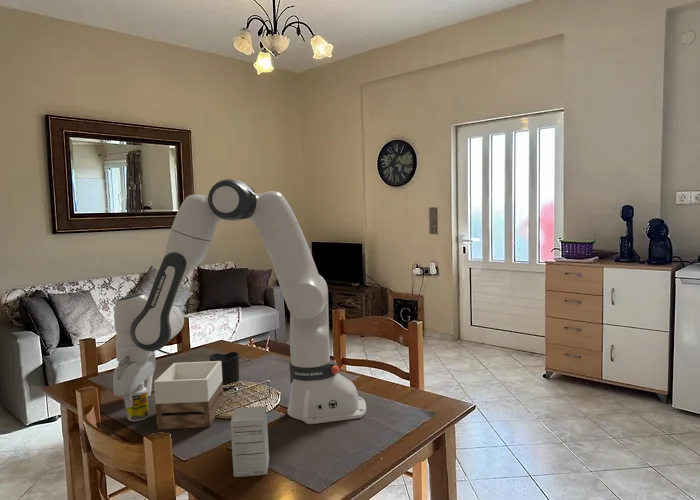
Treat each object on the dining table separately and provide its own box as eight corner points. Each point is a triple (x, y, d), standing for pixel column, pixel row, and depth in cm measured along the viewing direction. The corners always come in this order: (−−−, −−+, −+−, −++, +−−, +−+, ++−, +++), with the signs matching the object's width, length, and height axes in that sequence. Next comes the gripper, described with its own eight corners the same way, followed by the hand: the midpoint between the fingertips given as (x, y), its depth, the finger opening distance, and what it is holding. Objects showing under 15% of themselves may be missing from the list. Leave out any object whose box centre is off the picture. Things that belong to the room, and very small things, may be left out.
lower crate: (223, 403, 147) (222, 380, 146) (209, 426, 131) (208, 401, 130) (176, 405, 146) (175, 382, 146) (157, 429, 130) (155, 403, 130)
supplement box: (237, 460, 113) (234, 407, 112) (269, 458, 113) (267, 405, 112) (232, 478, 105) (229, 421, 104) (267, 475, 106) (264, 419, 105)
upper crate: (222, 380, 146) (221, 361, 146) (208, 401, 130) (207, 379, 130) (175, 382, 146) (174, 362, 145) (155, 403, 130) (153, 381, 129)
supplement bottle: (129, 424, 134) (126, 387, 134) (126, 417, 139) (123, 382, 138) (151, 418, 137) (148, 383, 137) (146, 412, 142) (144, 377, 141)
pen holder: (226, 391, 156) (225, 361, 155) (205, 387, 161) (203, 357, 160) (246, 382, 165) (244, 353, 164) (224, 378, 169) (223, 350, 168)
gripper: (129, 363, 126) (132, 415, 128) (158, 341, 147) (160, 386, 148) (104, 363, 126) (108, 415, 127) (137, 342, 147) (139, 387, 148)
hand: (136, 399), depth 138 cm, fingers open, 8 cm apart
